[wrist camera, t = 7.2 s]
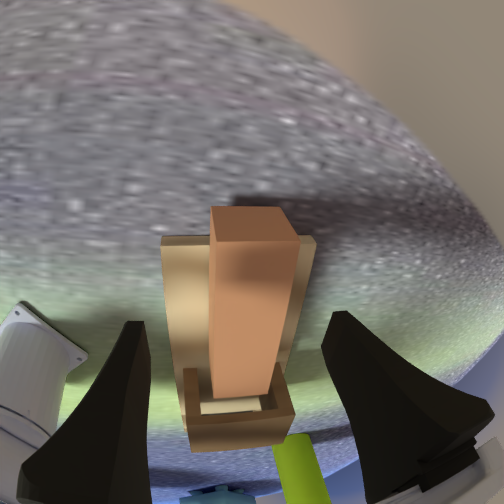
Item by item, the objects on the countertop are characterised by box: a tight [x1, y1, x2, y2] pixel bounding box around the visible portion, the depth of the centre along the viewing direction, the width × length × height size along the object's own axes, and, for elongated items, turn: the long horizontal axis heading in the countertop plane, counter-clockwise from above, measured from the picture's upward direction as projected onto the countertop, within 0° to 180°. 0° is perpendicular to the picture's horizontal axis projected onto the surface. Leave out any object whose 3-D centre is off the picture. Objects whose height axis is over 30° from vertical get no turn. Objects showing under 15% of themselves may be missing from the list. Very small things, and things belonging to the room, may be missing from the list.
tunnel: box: [183, 362, 296, 453], centre depth 25 cm, size 6×8×6 cm
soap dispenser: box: [272, 433, 332, 504], centre depth 32 cm, size 6×7×20 cm
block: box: [209, 206, 301, 399], centre depth 20 cm, size 13×4×4 cm, turn 175°
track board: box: [160, 235, 317, 432], centre depth 27 cm, size 25×10×1 cm, turn 175°
